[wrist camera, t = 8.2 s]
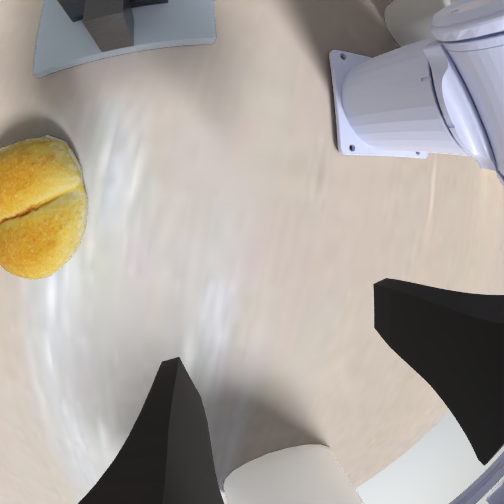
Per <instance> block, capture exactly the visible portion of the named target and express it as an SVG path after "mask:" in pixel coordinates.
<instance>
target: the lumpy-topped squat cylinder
mask: <svg viewBox="0 0 504 504" xmlns="http://www.w3.org/2000/svg"><path fill="white" fill-rule="evenodd" d="M458 1H461V0H394V1H393V2H391V3H390V4H389V5H388V6H387V7H386V9H385V12H384V19H385V24H386V26H387V29H388V31H389V32H390V34H391V35H392V37H393V38H394V39H395V41H396V42H397V43H398V44H399V45H400V47H403V46H406V45H409V44H412V43H415V42H418V41H421V40H425V39H428V38H431V37H434V35H433V34H432V32H431V31H430V26H431V25H432V19H433V15H434V14H435V13H437V12H438V11H440V10H441V9H443V8H445V7H447V6H449V5H451V4H454V3H456V2H458Z"/></svg>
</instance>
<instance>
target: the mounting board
mask: <svg viewBox="0 0 504 504" xmlns="http://www.w3.org/2000/svg"><path fill="white" fill-rule="evenodd" d="M132 12H133V16H134V20H135V24H134V46H131V47H125V48H120V49H116V50H111V51H107V52H101V50H100V49H99V47H98V46H97V44H96V43H95V41H94V39H93V38H92V36H91V35H90V33H89V32H88V30H87V29H86V27H85V26H84V24H83V22H82V21H83V20H80V21H76V22H72V20H71V19H70V18H69V16H68V15H67V13H66V12H65V11H64V9H63V8H62V6H61V5H60V4H59V2H58V1H57V0H45V2H44V6H43V10H42V15H41V20H40V25H39V30H38V36H37V42H36V48H35V56H34V65H33V75H34V76H36V77H38V78H40V77H43V76H46V75H48V74H51V73H54V72H57V71H60V70H63V69H66V68H69V67H73V66H76V65H79V64H83V63H87V62H90V61H94V60H98V59H102V58H107V57H111V56H116V55H121V54H126V53H131V52H137V51H143V50H149V49H157V48H164V47H173V46H184V45H198V44H214V43H215V40H216V24H215V4H214V0H169V1H168V3H163V4H155V5H148V6H141V7H135V8H132Z"/></svg>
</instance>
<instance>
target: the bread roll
mask: <svg viewBox="0 0 504 504" xmlns="http://www.w3.org/2000/svg"><path fill="white" fill-rule="evenodd" d="M87 216H88V197H87V194H86V190H85V187H84V183H83V174H82V170H81V167H80V164H79V162H78V160H77V158H76V156H75V154H74V152H73V151H72V150H71V149H70V147H69V146H68V144H67V143H66V142H65V141H64V140H61V139H58V138H56V137H52V136H50V135H45V136H42V137H39V138H29V139H25V140H20V141H18V142H17V143H15V144H10V145H8V146H5V147H2V148H0V265H1V266H2V267H3V268H4V269H5V270H6V271H8V272H10V273H12V274H14V275H16V276H19V277H22V278H27V279H41V278H46V277H49V276H52V275H53V274H54V273H56V272H57V271H59V270H60V269H61V268H62V267H63V266H64V265H65V264H66V263H67V262H68V261H69V260H70V258H71V257H72V256H73V254H74V253H75V252H76V250H77V248H78V246H79V244H80V242H81V239H82V237H83V235H84V232H85V228H86V223H87Z"/></svg>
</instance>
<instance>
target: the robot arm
mask: <svg viewBox="0 0 504 504" xmlns="http://www.w3.org/2000/svg"><path fill="white" fill-rule="evenodd" d="M430 31H431V32H432V34H433V35H434V37H431V38H428V39H425V40H421V41H418V42H415V43H412V44H409V45H406V46H403V47H400V48H397V49H395V50H392V51H389V52H386V53H384V54H381V55H378V56H376V57H373V58H372V57H368V56H363V55H359V54H355V53H350V52H345V51H340V50H333V51H331V52H330V53H329V59H330V67H331V75H332V83H333V92H334V103H335V114H336V126H337V141H338V150H339V152H340V153H341V154H343V155H375V156H397V157H413V158H427V157H428V153H442V154H453V155H463V156H473V157H474V158H475V159H476V160H477V162H478V164H479V166H480V168H483V169H489V170H495V171H496V173H497V176H498V178H499V180H500V182H501V184H502V185H503V186H504V0H461V1H458V2H456V3H454V4H451V5H449V6H447V7H445V8H443V9H441V10H440V11H438V12H437V13H435V14H434V15H433V19H432V25H431V26H430ZM340 55H341V56H343V58H344V59H342V58H341V57H340ZM350 145H351V146H352V151H350V149H349V146H350ZM416 152H417V154H416ZM374 328H375V329H376V330H377V332H378V333H379V334H380V336H381V337H382V338H383V339H384V341H385V342H386V343H387V344H388V345H389V346H390V347H391V348H392V349H393V350H394V351H395V352H396V353H397V354H398V355H399V356H400V357H401V358H402V359H403V360H404V361H405V362H407V363H408V364H409V365H410V366H411V367H412V368H413V369H414V370H415V371H416V372H417V373H418V374H419V375H420V376H422V377H423V378H424V379H425V380H426V381H427V382H428V383H429V384H430V385H431V387H432V388H433V389H434V390H435V391H436V393H437V394H438V395H439V396H440V398H441V399H442V400H443V401H444V403H445V404H446V405H447V407H448V408H449V410H450V411H451V412H452V414H453V415H454V417H455V418H456V420H457V421H458V423H459V424H460V426H461V428H462V429H463V431H464V432H465V434H466V436H467V438H468V440H469V441H470V443H471V445H472V447H473V449H474V451H475V453H476V456H477V458H478V460H479V461H480V462H481V463H482V464H483V465H486V464H487V463H488V462H489V461H490V460H491V459H492V458H493V457H494V455H495V454H496V453H497V452H498V451H499V450H500V449H501V448H502V447H503V446H504V295H483V294H471V293H463V292H457V291H450V290H445V289H440V288H435V287H430V286H425V285H420V284H416V283H411V282H406V281H401V280H395V279H388V278H386V279H384V280H381V281H379V282H377V283H375V284H374ZM503 476H504V452H503V453H502V454H501V455H500V457H498V458H497V460H496V461H495V462H494V463H493V464H492V465H491V466H490V467H489V468H488V469H487V470H486V471H485V472H484V473H483V474H482V475H481V476H480V477H479V478H478V479H477V480H476V481H475V482H474V483H473V484H472V485H470V486H469V487H468V488H467V489H466V490H465V491H464V492H462V494H460V495H459V496H458V497H457V498H456V499H454V500H453V501H452V502H451V503H449V504H476V503H477V502H478V501H479V500H480V499H481V498H482V497H483V496H484V495H485V494H486V493H487V492H488V491H489V490H490V489H491V488H492V487H493V486H494V485H495V484H496V483H497V482H498V481H499V480H500V479H501V478H502V477H503ZM487 502H488V503H489V504H504V480H502V481H501V482H500V483H499V484H498V486H497V487H496V488H495V489H494V490H493V491H492V493H491V494H490V495H489V496H488V497H487ZM78 504H224V502H223V499H222V496H221V493H220V490H219V487H218V483H217V478H216V474H215V468H214V462H213V456H212V450H211V443H210V437H209V430H208V423H207V419H206V415H205V411H204V407H203V404H202V400H201V396H200V395H199V393H198V391H197V389H196V388H195V386H194V384H193V382H192V380H191V379H190V377H189V375H188V373H187V371H186V369H185V367H184V365H183V364H182V362H181V360H180V358H179V357H177V358H174V359H170V360H167V361H163V362H162V363H161V365H160V367H159V370H158V372H157V375H156V377H155V380H154V382H153V384H152V387H151V389H150V392H149V394H148V396H147V399H146V401H145V403H144V405H143V408H142V410H141V412H140V414H139V416H138V418H137V420H136V422H135V424H134V426H133V428H132V430H131V432H130V434H129V436H128V438H127V440H126V441H125V443H124V445H123V447H122V448H121V450H120V451H119V453H118V455H117V456H116V458H115V459H114V461H113V462H112V464H111V465H110V466H109V468H108V469H107V470H106V471H105V473H104V474H103V475H102V477H101V478H100V479H99V481H98V482H97V483H96V485H95V486H94V487H93V488H92V489H91V490H90V491H89V492H88V494H87V495H86V496H85V497H84V498H83V499H82V500H81V501H80V502H79V503H78Z"/></svg>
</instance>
